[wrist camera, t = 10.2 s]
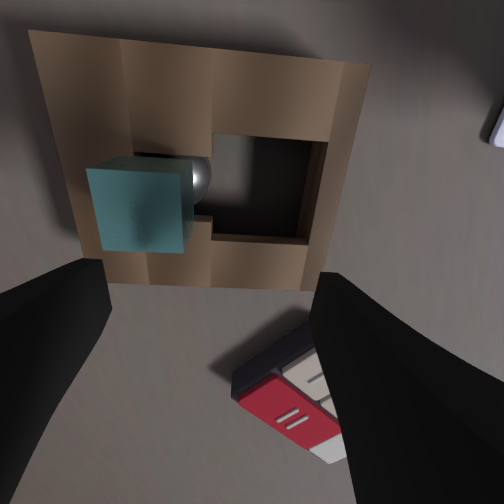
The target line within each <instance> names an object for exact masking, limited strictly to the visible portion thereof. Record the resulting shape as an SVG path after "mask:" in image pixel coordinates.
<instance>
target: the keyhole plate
mask: <svg viewBox="0 0 504 504" xmlns="http://www.w3.org/2000/svg"><path fill="white" fill-rule="evenodd" d="M28 33H29V37H30V41H31V45H32V50H33V54H34V58H35V62H36V66H37V70H38V74H39V78H40V82H41V86H42V90H43V94H44V98H45V102H46V106H47V110H48V114H49V118H50V122H51V126H52V130H53V134H54V138H55V143H56V147H57V151H58V155H59V159H60V163H61V167H62V171H63V175H64V179H65V183H66V187H67V191H68V195H69V199H70V203H71V207H72V211H73V215H74V219H75V223H76V227H77V231H78V236H79V240H80V244H81V248H82V252H83V256H84V258H90V259H102V260H103V265H104V270H105V275H106V280H107V283H124V284H149V285H173V286H198V287H223V288H248V289H272V290H297V291H316V286H317V282H318V278H319V274H320V272H323V268H324V264H325V260H326V256H327V251H328V247H329V243H330V239H331V234H332V230H333V226H334V222H335V218H336V213H337V209H338V205H339V201H340V196H341V192H342V188H343V184H344V179H345V175H346V171H347V167H348V162H349V158H350V154H351V150H352V145H353V141H354V137H355V133H356V128H357V124H358V120H359V116H360V111H361V107H362V103H363V99H364V94H365V90H366V86H367V82H368V77H369V73H370V69H371V65H372V64H364V63H354V62H344V61H334V60H324V59H315V58H305V57H295V56H285V55H275V54H265V53H255V52H245V51H235V50H226V49H216V48H206V47H196V46H186V45H176V44H166V43H156V42H147V41H137V40H127V39H117V38H107V37H97V36H87V35H77V34H67V33H58V32H48V31H38V30H28ZM213 133H222V134H235V135H247V136H260V137H272V138H285V139H297V140H310V141H312V144H311V150H310V156H309V162H308V168H307V174H306V180H305V186H304V192H303V197H302V203H301V209H300V215H299V221H298V227H297V233H296V238H291V237H273V236H254V235H236V234H217V233H213V216H206V215H194V228H193V231H192V233H191V236H190V239H189V241H188V244H187V246H186V249H185V252H184V253H159V252H134V251H109V250H103V248H102V244H101V239H100V234H99V229H98V225H97V220H96V215H95V210H94V205H93V201H92V196H91V191H90V186H89V182H88V177H87V172H86V168H88V167H91V166H93V165H96V164H98V163H101V162H103V161H106V160H109V159H111V158H114V157H116V156H119V155H122V156H138V157H141V153H140V152H147V153H160V154H174V155H187V156H201V157H212V155H213Z"/></svg>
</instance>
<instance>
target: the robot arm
mask: <svg viewBox="0 0 504 504" xmlns="http://www.w3.org/2000/svg"><path fill="white" fill-rule="evenodd" d="M489 143H490V145H492V146H496V147H504V108H503V110H502V112H501V114H500V116H499V119H498V121H497V123H496V125H495V127H494V130H493V132H492V134H491V136H490V139H489ZM111 311H112V305H111V300H110V295H109V290H108V285H107V280H106V275H105V270H104V265H103V260H102V259H90V258H82V259H79V260H76V261H73V262H71V263H68V264H66V265H63V266H61V267H59V268H56V269H54V270H52V271H50V272H48V273H45V274H43V275H41V276H39V277H37V278H34V279H32V280H30V281H28V282H25V283H23V284H21V285H19V286H17V287H14V288H12V289H10V290H8V291H5V292H3V293H1V294H0V504H9V503H10V501H11V499H12V496H13V494H14V492H15V490H16V488H17V486H18V484H19V481H20V479H21V477H22V475H23V473H24V471H25V469H26V467H27V464H28V462H29V460H30V458H31V456H32V454H33V452H34V450H35V448H36V446H37V444H38V442H39V440H40V438H41V436H42V434H43V432H44V430H45V428H46V426H47V424H48V422H49V420H50V418H51V416H52V415H53V413H54V411H55V409H56V408H57V406H58V404H59V402H60V401H61V399H62V398H63V396H64V394H65V393H66V391H67V389H68V388H69V386H70V385H71V383H72V381H73V380H74V378H75V377H76V375H77V373H78V372H79V370H80V369H81V367H82V365H83V364H84V362H85V361H86V359H87V357H88V356H89V354H90V352H91V351H92V349H93V347H94V346H95V344H96V342H97V341H98V339H99V337H100V336H101V333H102V331H103V329H104V327H105V325H106V322H107V320H108V318H109V315H110V313H111ZM309 321H310V327H311V333H312V338H313V343H314V346H315V350H316V353H317V356H318V359H319V362H320V365H321V368H322V371H323V374H324V377H325V380H326V383H327V386H328V389H329V392H330V396H331V399H332V402H333V405H334V408H335V411H336V414H337V418H338V421H339V425H340V429H341V434H342V438H343V442H344V447H345V451H346V455H347V460H348V464H349V469H350V474H351V479H352V484H353V488H354V493H355V498H356V503H357V504H504V382H502V381H500V380H499V379H497V378H495V377H493V376H491V375H489V374H487V373H485V372H484V371H482V370H480V369H478V368H476V367H474V366H473V365H471V364H469V363H467V362H466V361H464V360H462V359H460V358H459V357H457V356H455V355H454V354H452V353H450V352H449V351H447V350H445V349H444V348H442V347H441V346H439V345H437V344H436V343H434V342H432V341H431V340H429V339H428V338H426V337H425V336H423V335H422V334H420V333H419V332H417V331H416V330H414V329H413V328H411V327H410V326H408V325H407V324H406V323H404V322H403V321H401V320H400V319H398V318H397V317H396V316H394V315H393V314H392V313H390V312H389V311H388V310H386V309H385V308H384V307H382V306H381V305H380V304H378V303H377V302H376V301H374V300H373V299H372V298H371V297H369V296H368V295H367V294H365V293H364V292H363V291H362V290H360V289H359V288H358V287H356V286H355V285H354V284H353V283H351V282H350V281H349V280H347V279H346V278H345V277H343V276H342V275H340V274H339V273H333V272H320V274H319V278H318V282H317V286H316V291H315V295H314V299H313V303H312V307H311V311H310V315H309Z"/></svg>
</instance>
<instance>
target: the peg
mask: <svg viewBox="0 0 504 504" xmlns="http://www.w3.org/2000/svg"><path fill="white" fill-rule="evenodd" d="M86 172H87V177H88V182H89V186H90V191H91V196H92V201H93V205H94V210H95V215H96V220H97V225H98V229H99V234H100V239H101V244H102V248H103V250H109V251H134V252H159V253H184V252H185V249H186V246H187V244H188V241H189V239H190V236H191V233H192V231H193V228H194V205H195V204H196V203H198V202H199V201H200V200H201V199H202V198H203V196H204V195H205V193H206V191H207V188H208V186H209V183H210V179H211V167H210V163H209V160H208V158H207V157H201V156H187V155H174V154H160V153H147V152H145V154H144V155H143V157H138V156H122V155H119V156H116V157H114V158H111V159H109V160H106V161H103V162H101V163H98V164H96V165H93V166H91V167H88V168H86Z"/></svg>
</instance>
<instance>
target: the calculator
mask: <svg viewBox="0 0 504 504" xmlns="http://www.w3.org/2000/svg"><path fill="white" fill-rule="evenodd" d="M231 398H232V399H233V400H235V401H236V402H237V403H238V404H239V405H240V406H241V407H243V408H244V409H246V410H247V411H249V412H250V413H252V414H253V415H255V416H256V417H258V418H259V419H261V420H262V421H264V422H265V423H267V424H268V425H270V426H271V427H272V428H274V429H275V430H277V431H278V432H280V433H281V434H283V435H284V436H286V437H287V438H289V439H290V440H292V441H293V442H295V443H296V444H298V445H299V446H301V447H302V448H304V449H307V450H308V451H310V452H311V453H313V454H314V455H316V456H317V457H319V458H320V459H322V460H323V461H325V462H327V463H329V464H331V463H333V462H335V461H338V460H340V459H342V458H344V457H346V456H347V455H346V451H345V447H344V442H343V438H342V434H341V429H340V425H339V421H338V418H337V414H336V411H335V408H334V405H333V402H332V399H331V396H330V392H329V389H328V386H327V383H326V380H325V377H324V374H323V371H322V368H321V365H320V362H319V359H318V356H317V353H316V350H315V346H314V343H313V338H312V333H311V327H310V321H309V320H308V321H307V322H305V323H304V324H302V325H301V326H300V327H298V328H297V329H295V330H294V331H292V332H291V333H289V334H288V335H286V336H285V337H283V338H282V339H281V340H279V341H278V342H276V343H275V344H273V345H272V346H270V347H269V348H267V349H266V350H264V351H263V352H262V353H260V354H259V355H257V356H256V357H254V358H253V359H251V360H250V361H248V362H247V363H245V364H244V365H243V366H241V367H240V368H238V369H237V370H235V371H234V372H233V374H232V386H231Z"/></svg>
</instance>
